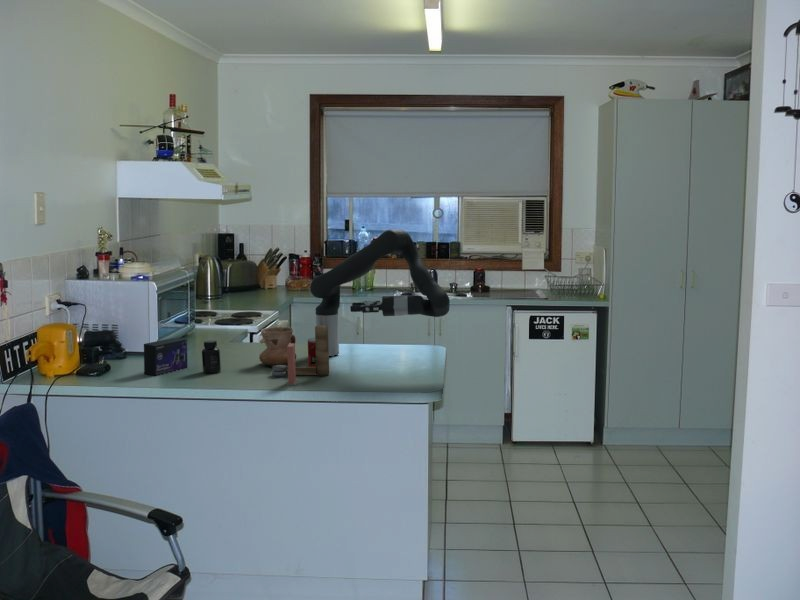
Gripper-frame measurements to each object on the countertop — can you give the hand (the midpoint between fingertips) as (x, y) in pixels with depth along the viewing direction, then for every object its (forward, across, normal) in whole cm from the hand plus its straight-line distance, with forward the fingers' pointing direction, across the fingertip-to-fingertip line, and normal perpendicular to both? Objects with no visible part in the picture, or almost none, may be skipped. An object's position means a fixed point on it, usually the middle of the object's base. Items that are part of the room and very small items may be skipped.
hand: (351, 307), depth 329 cm
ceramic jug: (+31, -21, +25) cm, 45 cm away
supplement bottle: (+55, -7, +24) cm, 61 cm away
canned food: (+15, -15, +25) cm, 33 cm away
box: (+73, -10, +24) cm, 78 cm away
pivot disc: (+28, 0, +25) cm, 37 cm away
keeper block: (+21, +13, +25) cm, 35 cm away
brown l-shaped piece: (+20, 0, +25) cm, 32 cm away
